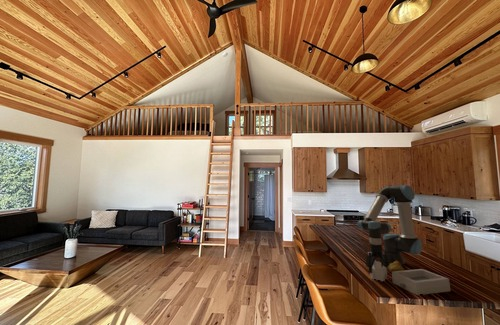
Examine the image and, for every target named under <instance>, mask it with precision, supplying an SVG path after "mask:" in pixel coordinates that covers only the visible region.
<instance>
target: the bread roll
mask: <svg viewBox="0 0 500 325" xmlns="http://www.w3.org/2000/svg"><path fill="white" fill-rule="evenodd" d="M387 271H389V273H391V274H392V272H394V271H405V270H404V267H403V265H401V263H400V262H399V261H394V262H393V263H391V264H390V265H389V266H388V267H387Z"/></svg>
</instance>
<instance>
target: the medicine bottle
mask: <svg viewBox="0 0 500 325" xmlns="http://www.w3.org/2000/svg"><path fill="white" fill-rule="evenodd" d="M383 266H384V265H383V263H382V261H381V260H380V259H375V261H374V264H373V267H372V268H373V272H374V279H376V280H375V281H378V280H380V281H379V282H383V281H384V282H385V281H386V277H385V268H383ZM371 279H372V280H374V279H373V278H371Z"/></svg>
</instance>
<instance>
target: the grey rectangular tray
mask: <svg viewBox="0 0 500 325" xmlns="http://www.w3.org/2000/svg"><path fill="white" fill-rule="evenodd" d="M391 278H392V283H393V284H394V285H396V286H399V287H400V288H401V289H404V290H406V291H408V292H410V293H411V294H413V295H416V296H421V295H420V294H423V295H429V294H430V293H431V294H439V293H445V292H446V293H447V292H451V284H450V278H448V277H446V276H443V275H439V274H437V273H435V272H431V271H429V270H426V269H423V268H418V269H407V270H406V269H405V270H404V271H394V272H392V273H391Z"/></svg>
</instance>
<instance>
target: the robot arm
mask: <svg viewBox="0 0 500 325" xmlns="http://www.w3.org/2000/svg"><path fill="white" fill-rule="evenodd" d="M415 196H416V194H415V192H414V189H413V188H412V187H411V186H410V185H407V184H402V185H401V184H399V185H398V184H396V185H395V184H394V185H386V186H384V187H382V188H381V189H380V190H379V191H377V193H376V195H375V199H374V201H373V203H372V205H371V206H370V207H369V209H368V212H367V213H366V215H365V217H364V218H363V219H361V220H359V221H357V226H358V228H359V230H360V231H367V232H368V238H369V248H370V251H367V252H366V260H365V261H366V262H365V267H367V268H368V272H369V277H370V278H371V279H372V278H373V279H372V280H374V272H373V268H372V267H373V264H374V261H375V260H377V259H378V258H379V259H378V260H379V261H382V263H383V268H385V278H388V269H387V267H388V266H389V265H390V264H391V263H393V262H394V261H399V262H400V263H401V266H403V265H405V259H404V258H403V255H402V253H406V254H410V255H416V256H417V255H420V254H421V253H422V250H423V242H422V241H421V240H420V239H419V238H418V237H419V236H417V235H416V233H415V227H414V222H413V215H412V208H411V203H413V200H414V199H415ZM389 200H394V203H395V204H396V205H397V212H398V218H399V224H400V231H401V233H400V234H399V233H391V232H392V226H391V224H389V223H388V222H380V221H379V220H378V217H379V216H380V213H381V212H382V210H383V208H384V207H385V204H386V203H388V202H389ZM382 235H383V237H382ZM382 240H383V241H382ZM382 244H383V245H382Z"/></svg>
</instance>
